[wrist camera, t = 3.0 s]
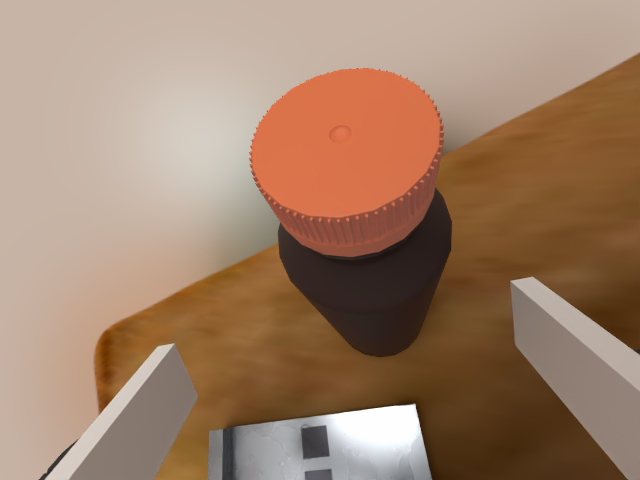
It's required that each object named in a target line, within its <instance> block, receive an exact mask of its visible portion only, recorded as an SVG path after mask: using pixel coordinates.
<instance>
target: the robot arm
mask: <svg viewBox="0 0 640 480" xmlns="http://www.w3.org/2000/svg"><path fill="white" fill-rule="evenodd" d="M510 283H511V297H512V310H513V324H514V337H515V346H516V347H517V348H518V349H519V350H520V352H521V353H522V354H523V355H524V356H525V358H526V359H527V360H528V361H529V362H530V364H531V365H532V366H533V367H534V368H535V369H536V371H537V372H538V373H539V374H540V375H541V377H542V378H543V379H544V380H545V381H546V383H547V384H548V385H549V386H550V387H551V389H552V390H553V391H554V392H555V393H556V395H557V396H558V397H559V398H560V399H561V400H562V402H563V403H564V404H565V405H566V406H567V408H568V409H569V410H570V411H571V412H572V414H573V415H574V416H575V417H576V418H577V420H578V421H579V422H580V423H581V424H582V426H583V427H584V428H585V429H586V430H587V431H588V433H589V434H590V435H591V436H592V437H593V439H594V440H595V441H596V442H597V443H598V445H599V446H600V447H601V448H602V449H603V451H604V452H605V453H606V454H607V455H608V457H609V458H610V459H611V460H612V461H613V462H614V464H615V465H616V466H617V467H618V468H619V470H620V471H621V472H622V473H623V474H624V476H625V477H626V478H627V479H628V480H640V350H635V351H633V350H632V349H631V348H629V347H628V346H627V345H625V344H624V343H622V342H621V341H620V340H618V339H617V338H616V337H614V336H613V335H612V334H610V333H609V332H607V331H606V330H605V329H603V328H602V327H601V326H599V325H598V324H597V323H595V322H594V321H592V320H591V319H590V318H588V317H587V316H586V315H584V314H583V313H582V312H580V311H579V310H577V309H576V308H575V307H573V306H572V305H571V304H569V303H568V302H566V301H565V300H564V299H562V298H561V297H560V296H558V295H557V294H556V293H554V292H553V291H551V290H550V289H549V288H547V287H546V286H545V285H543V284H542V283H541V282H539V281H538V280H536V279H535V278H534V277H529V278H524V279H518V280H513V281H510ZM197 398H198V395H197V393H196V391H195V388H194V386H193V384H192V381H191V379H190V377H189V375H188V372H187V370H186V368H185V366H184V363H183V361H182V359H181V356H180V354H179V352H178V350H177V347H176V345H175V343H174V344H169V345H164V346H158V347H157V348H156V349H155V350H154V352H153V353H152V354H151V355H150V356H149V357H148V359H147V360H146V361H145V362H144V363H143V364H142V366H141V367H140V368H139V369H138V370H137V372H136V373H135V374H134V375H133V376H132V377H131V379H130V380H129V381H128V382H127V383H126V384H125V386H124V387H123V388H122V389H121V390H120V392H119V393H118V394H117V395H116V396H115V397H114V399H113V400H112V401H111V402H110V403H109V405H108V406H107V407H106V408H105V409H104V410H103V412H102V413H101V414H100V415H99V416H98V417H97V419H96V420H95V421H94V422H93V423H92V425H91V426H90V427H89V428H88V429H87V430H86V432H85V433H84V434H83V435H82V436H81V437H80V438H79V439H78V440H77V441H76V442H74V443H73V444H72V445H71V446H70V447H69V448H67V449H66V450H65V451H64V452H63V453H62V454H61V455H60V456H59V457H58V458H57V460H56V461H55V462H54V463H53V464H52V465H51V466H50V468H49V469H48V471H47V473H45V474H44V475H43V476H42V477H41V478H40V479H39V480H154V479H155V477H156V475H157V473H158V471H159V469H160V467H161V465H162V464H163V462H164V460H165V458H166V456H167V454H168V452H169V450H170V449H171V447H172V445H173V443H174V441H175V439H176V437H177V435H178V434H179V432H180V430H181V428H182V426H183V424H184V422H185V420H186V419H187V417H188V415H189V413H190V411H191V409H192V407H193V405H194V404H195V402H196V400H197Z"/></svg>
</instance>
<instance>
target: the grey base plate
mask: <svg viewBox="0 0 640 480" xmlns="http://www.w3.org/2000/svg"><path fill="white" fill-rule="evenodd" d="M208 480H432V478H431V473H430V469H429V464H428V460H427V455H426V451H425V447H424V442H423V438H422V433H421V429H420V424H419V420H418V415H417V411H416V407H415V404H413V403H412V404H404V405H396V406H389V407H381V408H373V409H366V410H358V411H350V412H342V413H335V414H327V415H319V416H312V417H304V418H296V419H288V420H281V421H273V422H265V423H258V424H250V425H242V426H234V427H227V428H222V429H217V430H212V431H209V459H208Z"/></svg>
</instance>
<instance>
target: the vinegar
mask: <svg viewBox="0 0 640 480" xmlns="http://www.w3.org/2000/svg"><path fill="white" fill-rule="evenodd" d="M424 92H425V90H421V89H420V88H419V86H417V85H416V84H415V83H414V82H410V81H409V80H408V78H406V79H404V78H402V77H401V75H400V76H398V75H396V74H395V73H391V72H388V71H386V72H385V71H380V70H374V69H368V68H363V69H358V68H357V69H347V70H346V69H345V70H338V71H334V72H331V73H327V74H324V75H320V76H317V77H314V78H312V79H310V80H308V81H306V82H304V83H302V84H300V85H299V86H296V87H295V88H293V89H291V90H290V91H289V92H288V93H286V94H285V95H284V96H282V98H281V99H279V100H278V101H277V102H276V103H274V104H273V105H272V107H271V108H270V110H269V111H267V114H266V115H265V116H263V119H262V121H261V122H259V126H258V127H257V128H256V129H257V132H256V133H254V136H255V137H254V139H253V140H252V142H253V143H252V145H251V146H250V147H251V149H252V151H251V152H249V153H250V155H251V158H249V160H250V161H251V163H252V164H250V167H251V168H252V171H251V172H252V174H253V176H254V177H253V179H254V180H255V182H256V183H255V184H256V185H257V187H258V188H259V190H260V192H261V193H262V195H263V196H264V198H265V199H266V201H267V202H268V204H269V205H270V207H271V208H272V210H273V211H274V213H275V214H276V216H277V218H278V219H279V221H280V226H279V230H278V241H279V255H280V258H281V261H282V263H283V265H284V267H285V270H286V272H287V274H288V276H289V279H290V281H291V282H292V283H293V284H294V285H295V286H296V287H297V288H298V289H299V290H300V292H301V293H302V294H303V295H304V296H305V297H306V298H307V299H308V300H309V301H310V302H311V303H312V304H313V306H314V307H315V308H316V309H317V310H318V311H319V312H320V313H321V314H322V315H323V316H324V317H325V318H326V319H327V321H328V322H329V323H330V324H331V325H332V326H333V327H334V328H335V329H336V330H337V331H338V332H339V333H340V335H341V336H342V337H343V338H344V339H345V340H346V341H347V342H348V343H349V344H350V345H351V346H352V347H353V348H355V349H356V350H358V351H360V352H362V353H364V354H366V355H372V356H377V357H383V356H390V355H395V354H397V353H399V352H401V351H402V350H404V349H406V348H408V347H409V345H410V344H411V343H412V342H413V341H414V340H415V339H416V338H417V336H418V333H419V331H420V329H421V326H422V324H423V321H424V319H425V316H426V314H427V311H428V308H429V306H430V303H431V301H432V298H433V295H434V293H435V290H436V288H437V285H438V282H439V280H440V277H441V275H442V272H443V269H444V267H445V264H446V262H447V259H448V256H449V254H450V251H451V233H452V221H451V218H450V215H449V212H448V209H447V206H446V204H445V201H444V198H443V196H442V195H441V194H440V193H439V191H438V190H437V189H436V188H435V186H436V179H437V174H438V169H439V164H440V159H441V153H442V148H443V142H444V138H443V135H444V131H443V124H441V122H442V118H439V115H440V111H437V112H436V110H437V105H433V100H431V99H430V98H429V94H428V95H425V93H424Z"/></svg>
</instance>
